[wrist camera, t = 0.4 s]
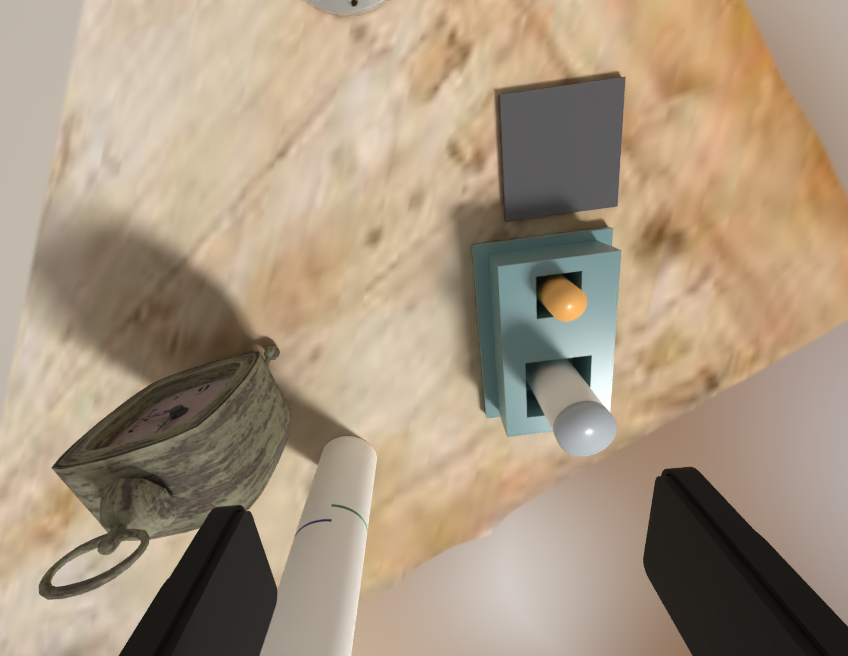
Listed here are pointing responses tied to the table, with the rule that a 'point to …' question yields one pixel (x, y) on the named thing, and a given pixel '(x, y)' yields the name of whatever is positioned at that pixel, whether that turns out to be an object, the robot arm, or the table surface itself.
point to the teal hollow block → (543, 319)
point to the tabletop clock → (175, 457)
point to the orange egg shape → (561, 297)
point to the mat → (561, 148)
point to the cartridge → (571, 407)
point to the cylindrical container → (326, 557)
